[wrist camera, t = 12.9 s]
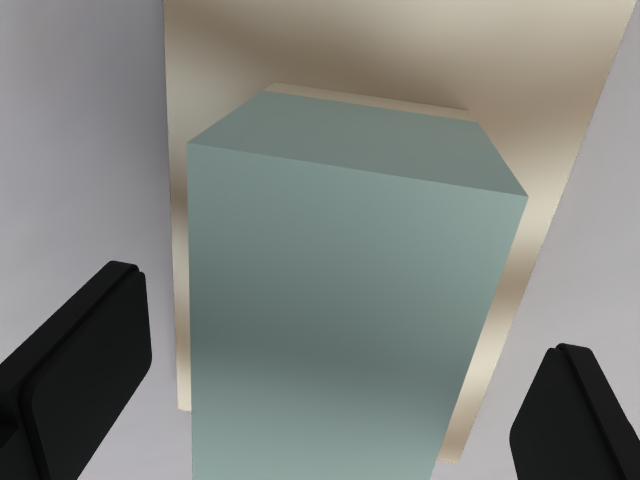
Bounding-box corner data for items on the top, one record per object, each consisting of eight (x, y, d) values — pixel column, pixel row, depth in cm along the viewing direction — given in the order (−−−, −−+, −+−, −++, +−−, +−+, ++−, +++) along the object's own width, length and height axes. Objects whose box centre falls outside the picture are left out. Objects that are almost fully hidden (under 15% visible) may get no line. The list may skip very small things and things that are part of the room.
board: (180, -109, 14) (158, -120, 13) (633, -55, 13) (660, -61, 12) (190, 385, 23) (177, 409, 22) (453, 437, 22) (457, 465, 21)
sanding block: (275, 82, 15) (186, 142, 8) (470, 110, 14) (529, 196, 8) (257, 334, 19) (192, 493, 13) (403, 362, 19) (408, 539, 13)
